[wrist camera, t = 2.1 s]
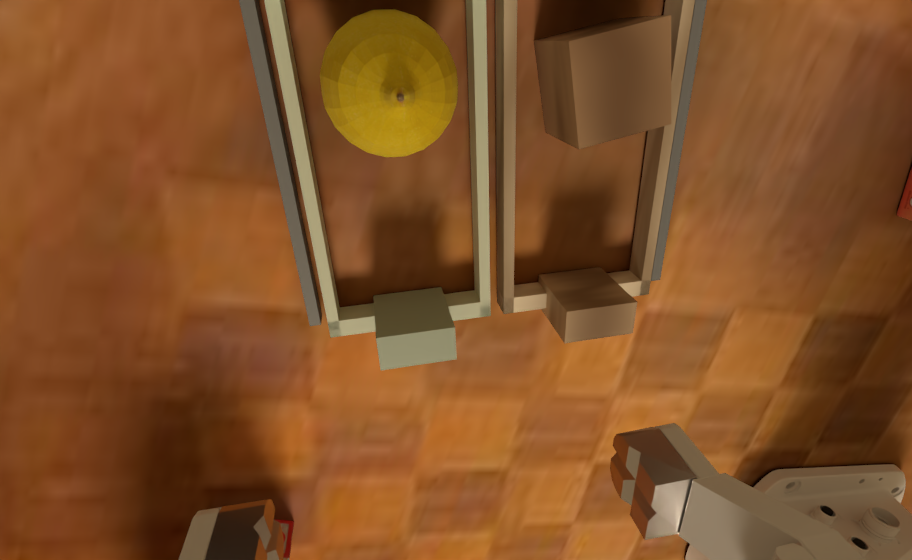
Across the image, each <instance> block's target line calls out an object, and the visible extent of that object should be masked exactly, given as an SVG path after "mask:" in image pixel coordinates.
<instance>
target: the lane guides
mask: <svg viewBox="0 0 912 560" xmlns="http://www.w3.org/2000/svg"><path fill="white" fill-rule="evenodd" d="M239 2H240V7H241V11H242V16H243V21H244V25H245V30H246V34H247V39H248V44H249V48H250V53H251V57H252V62H253V67H254V71H255V76H256V80H257V85H258V90H259V94H260V99H261V103H262V108H263V113H264V117H265V122H266V126H267V131H268V135H269V140H270V145H271V149H272V154H273V158H274V163H275V168H276V172H277V177H278V181H279V186H280V191H281V195H282V200H283V204H284V209H285V214H286V218H287V223H288V227H289V232H290V237H291V241H292V246H293V250H294V255H295V259H296V264H297V269H298V273H299V278H300V282H301V287H302V292H303V296H304V301H305V305H306V310H307V315H308V319H309V324H310V326H314V325H321V319H322V313H321V308H320V303H319V298H318V293H317V288H316V283H315V279H314V274H313V269H312V264H311V259H310V254H309V249H308V244H307V239H306V234H305V229H304V224H303V219H302V214H301V209H300V204H299V199H298V194H297V189H296V184H295V179H294V175H293V170H292V165H291V160H290V155H289V150H288V145H287V140H286V135H285V130H284V125H283V120H282V115H281V110H280V105H279V100H278V95H277V90H276V85H275V80H274V75H273V70H272V66H271V61H270V56H269V51H268V46H267V41H266V36H265V31H264V26H263V21H262V16H261V11H260V6H259V1H258V0H239ZM706 2H707V0H695V3H694V10H693V16H692V22H691V29H690V35H689V41H688V48H687V54H686V60H685V67H684V73H683V79H682V86H681V92H680V98H679V105H678V111H677V117H676V124H675V130H674V136H673V143H672V149H671V155H670V162H669V168H668V174H667V181H666V187H665V193H664V200H663V206H662V212H661V219H660V225H659V231H658V237H657V244H656V250H655V256H654V263H653V269H652V275H651V281H654V280H660V277H661V271H662V265H663V259H664V253H665V247H666V241H667V235H668V229H669V223H670V217H671V211H672V205H673V199H674V193H675V187H676V181H677V175H678V169H679V163H680V157H681V151H682V145H683V140H684V134H685V128H686V122H687V116H688V110H689V104H690V98H691V92H692V86H693V80H694V74H695V68H696V62H697V56H698V50H699V44H700V38H701V32H702V26H703V20H704V14H705V8H706Z"/></svg>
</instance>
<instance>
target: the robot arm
mask: <svg viewBox="0 0 912 560" xmlns="http://www.w3.org/2000/svg"><path fill="white" fill-rule="evenodd" d="M613 447H614V448H615V450H616V452H617V453H616V454H615V455H614V456H613V457H612V458H611V464H610V471H611V477H612V481H613V484H614V486H615V489H616V491H617V493H618V494H619V496H620V498H621V499H622V500H624V501H626V502H627V503H629V504H630V505H631V512H630V515H631V517H632V519H633V521H634V522H635V524H636V526H637V528H638V529H639V531H640V533H641V534H642V536H643V538H644V540H647V539H652V538H658V537H663V536H668V535H674V534H679V536H680V537H681V538H683V539H684V540H685V541H687V542H688V543H689V544H690V546H689V548H688V550H687V553H686V558H685V560H912V514H911V513H910V512H909V511H908V510H907V509H906V508H905V507H904V506H902V505H901V504H900V503H901V501H902V498H903V495H904V491H905V485H906V480H905V475H904V473H903V472H902V471H901V470H900V469H899V468H898V467H897V466H896V465H894V464H882V465H860V466H838V467H816V468H795V469H778V470H774V471H772V472H770V473H769V474H767V475H766V476H765V477H764V478H762V479H761V480H760V481H759V482H758V483H757V484H756V485H755V486H754V487H751V486H749V485H747V484H745V483H743V482H741V481H739V480H737V479H736V478H734V477H732V476H730V475H728V474H726V473H723V474H719V473H718V472H717V471H716V469H715V468H714V467H713V466H712V465H711V463H710V462H709V461H708V460H707V459H706V457H705V456H704V455H703V454H702V453H701V452H700V450H699V449H698V448H697V447H696V446H695V444H694V443H693V442H692V441H691V440H690V438H689V437H688V436H687V435H686V434H685V433H684V431H683V430H682V429H681V428H680V427H679V426H678V425H676V424H675V423H672V424H667V425H662V426H656V427H650V428H645V429H640V430H635V431H630V432H625V433H620V434H616V436H615V437H614V441H613ZM274 514H275V507H274V505H273V502H272V499H267V500H260V501H254V502H248V503H242V504H235V505H229V506H223V507H218V508H212V509H206V510H200V511H198V512H197V513H196V514H195V516H194V517H193V519H192V521H191V524H190V527H189V530H188V533H187V536H186V539H185V542H184V545H183V548H182V551H181V554H180V556H179V559H178V560H283V557H284V539H283V532H282V528H281V525H280V522H278V521H276V520H274Z"/></svg>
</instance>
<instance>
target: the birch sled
mask: <svg viewBox="0 0 912 560" xmlns="http://www.w3.org/2000/svg"><path fill="white" fill-rule="evenodd" d="M694 3H695V0H665V7H664V15H671V124H670V125H666V126H662V127H659V128H655V129H651V130H648V134H647V142H646V149H645V157H644V164H643V172H642V179H641V187H640V194H639V202H638V209H637V217H636V224H635V232H634V239H633V247H632V254H631V261H630V269H629V271H621V272H613V273H606V272H605V271H604V270H603V269H602V268H601V267H597V268H589V269H581V270H573V271H565V272H557V273H549V274H541V275H539V276H538V282H535V283H527V284H519V285H514V236H515V149H516V62H517V0H495V32H496V185H497V302H498V304H499V306H500V308H501V310H502V312H503V313H504V314H507V313H514V312H522V311H529V310H536V309H542V311H543V312H544V314H545V315H546V317H547V318H548V320H549V321H550V322H551V324H552V325H553V327H554V328H555V330H556V331H557V333H558V334H559V336H560V337H561V339H562V340H563V342H564V343H570V342H576V341H583V340H590V339H597V338H603V337H610V336H617V335H624V334H630V333H633V328H634V321H635V314H636V307H637V301H636V300H635V299H633V298H632V296H639V295H646V294H649V288H650V282H651V275H652V269H653V263H654V256H655V250H656V244H657V237H658V231H659V225H660V219H661V212H662V206H663V200H664V193H665V187H666V181H667V174H668V168H669V162H670V155H671V149H672V143H673V136H674V130H675V124H676V117H677V111H678V105H679V98H680V92H681V86H682V79H683V73H684V67H685V60H686V54H687V48H688V41H689V35H690V29H691V22H692V16H693V10H694Z"/></svg>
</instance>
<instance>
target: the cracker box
mask: <svg viewBox="0 0 912 560" xmlns="http://www.w3.org/2000/svg"><path fill="white" fill-rule="evenodd" d="M897 215H898V216H900V217H903V218H906V219H908V220H911V221H912V167H911V170H910V174H909V177H908V180H907V183H906V186H905V189H904V192H903V195H902V199H901V202H900V205H899V208H898V211H897Z"/></svg>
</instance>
